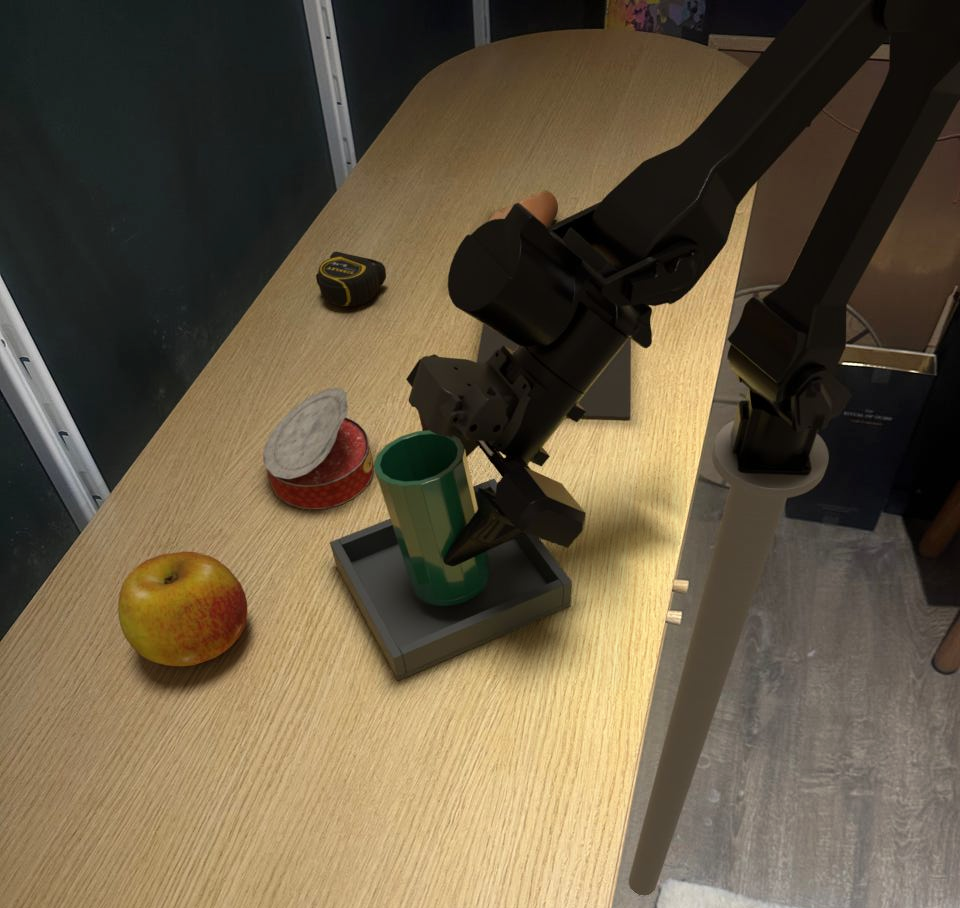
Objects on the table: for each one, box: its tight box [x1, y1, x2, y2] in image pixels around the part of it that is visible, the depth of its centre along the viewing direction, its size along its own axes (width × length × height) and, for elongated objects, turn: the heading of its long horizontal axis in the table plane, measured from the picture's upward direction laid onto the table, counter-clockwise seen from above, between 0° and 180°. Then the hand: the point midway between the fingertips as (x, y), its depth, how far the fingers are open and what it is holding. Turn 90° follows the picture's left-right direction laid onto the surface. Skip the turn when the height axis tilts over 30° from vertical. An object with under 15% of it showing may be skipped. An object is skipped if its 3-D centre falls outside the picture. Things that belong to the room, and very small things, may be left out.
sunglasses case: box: [488, 190, 559, 227], centre depth 101 cm, size 18×7×7 cm, turn 162°
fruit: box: [117, 551, 248, 667], centre depth 67 cm, size 10×9×8 cm
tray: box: [329, 478, 573, 682], centre depth 71 cm, size 16×14×3 cm
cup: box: [373, 430, 491, 606], centre depth 66 cm, size 7×7×12 cm
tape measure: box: [315, 251, 387, 307], centre depth 97 cm, size 7×7×4 cm
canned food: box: [262, 386, 374, 510], centre depth 79 cm, size 11×10×10 cm
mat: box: [476, 323, 632, 421], centre depth 89 cm, size 16×16×1 cm
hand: (427, 532), depth 66 cm, fingers closed on cup, 7 cm apart
